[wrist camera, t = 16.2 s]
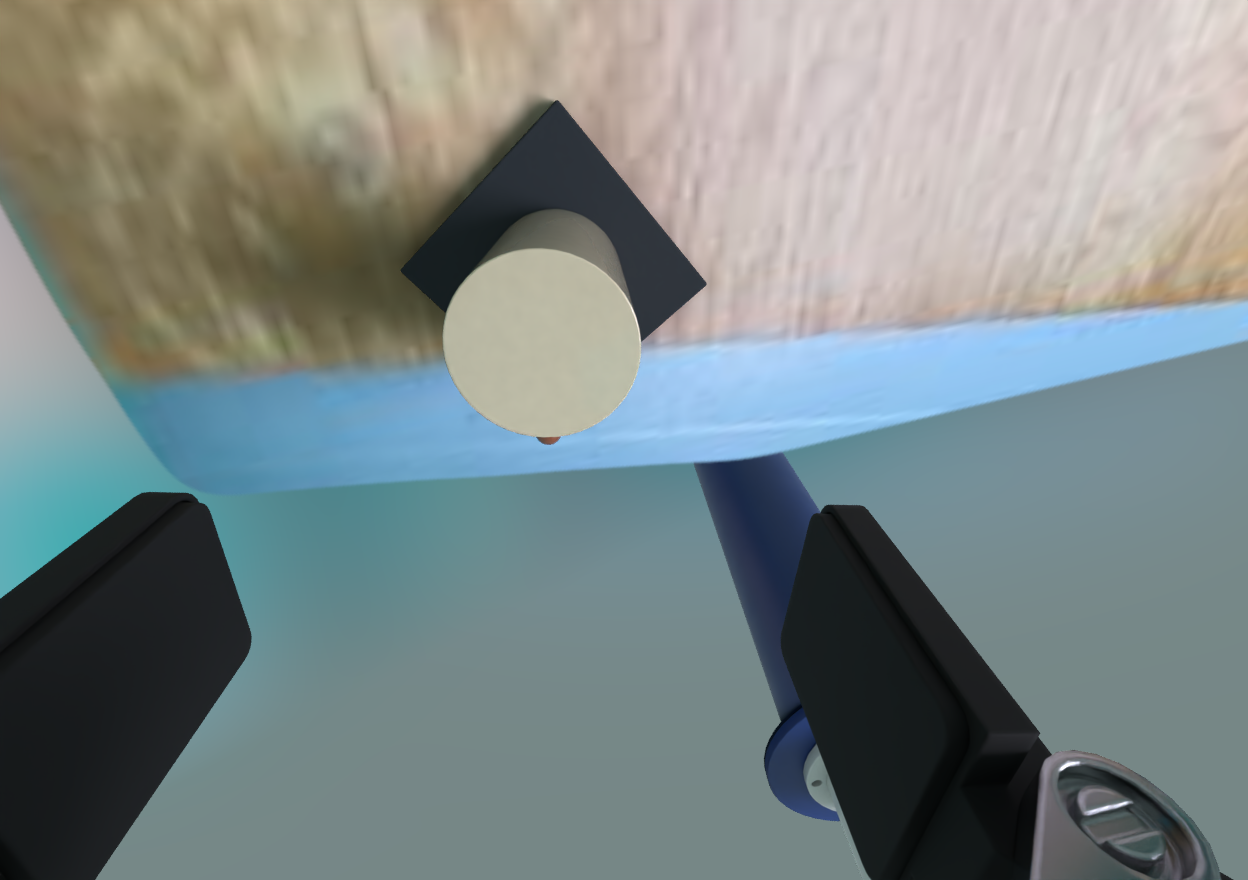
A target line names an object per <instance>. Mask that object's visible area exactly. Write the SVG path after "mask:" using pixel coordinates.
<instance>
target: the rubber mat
mask: <svg viewBox="0 0 1248 880" xmlns="http://www.w3.org/2000/svg"><path fill="white" fill-rule="evenodd" d="M546 209H561V210H567V211H571V212H575V213H577V214H580V215H582V216H584V217H586V218H587V219H589V220H591V221H592V222H593V223H595V224H596V225H597V226H599V227H600V228H601V230H602V231H603V232H604V233H605V234H606V235H607V236H608V238H609V239H610V240H611V242H612V244H613V246H614V247H615V250H616V252H617V255H618V257H619V261H620V264H621V267H622V271H623V274H624V278H625V281H626V284H627V288H628V291H629V294H630V298H631V301H632V305H633V308H634V311H635V315H636V318H637V322H638V326H639V329H640V337H641V342H642V341H643V340H644V339H645V338H646V337H647V336H649V335H650V334H651V333H652V332H653V331H654V330H655V329H657V328H658V327H659V326H660V325H661V324H662V323H663V322H665V321H666V320H667V319H668V318H669V317H670V316H671V315H673V314H674V313H675V312H676V311H677V310H678V309H680V308H681V307H682V306H683V305H684V304H685V303H686V302H688V301H689V300H690V299H691V298H692V297H693V296H694V295H696V294H697V293H698V292H699V291H700V290H701V289H702V288H704V287H705V286H706V282H705V281H704V279H703V278H702V277H701V276H700V274H699V273H698V272H697V271H696V269H695V268H694V267H693V266H692V265H691V263H690V262H689V261H688V260H687V258H686V257H685V256H684V255H683V253H682V252H681V251H680V250H679V249H678V247H677V246H676V245H675V244H674V242H673V241H672V240H671V239H670V237H669V236H668V235H667V234H666V233H665V231H664V230H663V229H662V228H661V226H660V225H659V224H658V223H657V221H656V220H655V219H654V218H653V217H652V215H651V214H650V213H649V212H648V210H647V209H646V208H645V207H644V205H643V204H642V203H641V202H640V200H639V199H638V198H637V197H636V196H635V194H634V193H633V192H632V191H631V189H630V188H629V187H628V186H627V184H626V183H625V182H624V181H623V180H622V178H621V177H620V176H619V175H618V173H617V172H616V171H615V170H614V168H613V167H612V166H611V165H610V164H609V162H608V161H607V160H606V159H605V157H604V156H603V155H602V154H601V152H600V151H599V150H598V149H597V148H596V146H595V145H594V144H593V143H592V141H591V140H590V139H589V138H588V136H587V135H586V134H585V133H584V132H583V130H582V129H581V128H580V127H579V125H578V124H577V123H576V122H575V120H574V119H573V118H572V117H571V116H570V114H569V113H568V112H567V111H566V109H565V108H564V107H563V106H562V104H561V103H560V102H559V101H558V100H557V101H555V102H554V103H553V104H552V105H551V106H550V107H549V109H548V110H547V111H546V112H545V113H544V114H543V115H542V116H541V117H540V118H539V119H538V121H537V122H536V123H535V124H534V125H533V126H532V127H531V128H530V129H529V130H528V131H527V133H526V134H525V135H524V136H523V137H522V138H521V139H520V140H519V141H518V142H517V143H516V145H515V146H514V147H513V148H512V149H511V150H510V151H509V152H508V153H507V154H506V155H505V157H504V158H503V159H502V160H501V161H500V162H499V163H498V164H497V165H496V166H495V167H494V168H493V170H492V171H491V172H490V173H489V174H488V175H487V176H486V177H485V178H484V179H483V180H482V182H481V183H480V184H479V185H478V186H477V187H476V188H475V189H474V190H473V191H472V192H471V194H470V195H469V196H468V197H467V198H466V199H465V200H464V201H463V202H462V203H461V204H460V206H459V207H458V208H457V209H456V210H455V211H454V212H453V213H452V214H451V215H450V216H449V218H448V219H447V220H446V221H445V222H444V223H443V224H442V225H441V226H440V227H439V228H438V229H437V231H436V232H435V233H434V234H433V235H432V236H431V237H430V238H429V239H428V240H427V241H426V243H425V244H424V245H423V246H422V247H421V248H420V249H419V250H418V251H417V252H416V253H415V255H414V256H413V257H412V258H411V259H410V260H409V261H408V262H407V263H406V264H405V265H404V267H403V268H402V269H401V272H402V273H403V274H404V275H405V276H406V277H407V278H408V279H409V280H410V281H412V282H413V283H414V284H415V285H416V286H417V287H418V288H419V289H420V290H421V291H422V292H423V293H425V294H426V295H427V296H428V297H429V298H430V299H431V300H432V301H433V302H434V303H435V304H437V305H438V306H439V307H440V308H441V309H442V310H443V311H444V312H445V313H446V311H447V308H448V306H449V304H450V301H451V299H452V297H453V295H454V294H455V292H456V290H457V289H458V287H459V286H460V285H461V283H462V282H463V281H464V280H465V279H466V278H467V276H468V275H469V274H470V273H471V272H472V270H473V269H474V268H475V267H476V266H477V264H478V263H479V262H480V261H481V260H482V259H483V257H484V256H485V255H486V254H487V253H488V251H489V250H490V249H491V248H492V247H493V245H494V244H495V243H496V242H497V241H498V240H499V238H500V237H501V236H502V235H503V234H504V232H505V231H506V230H507V229H508V228H509V227H510V226H511V225H512V224H513V223H514V222H516V221H517V220H519V219H520V218H522V217H523V216H526V215H528V214H530V213H533V212H536V211H539V210H546Z"/></svg>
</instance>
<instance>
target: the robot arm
mask: <svg viewBox="0 0 1248 880" xmlns="http://www.w3.org/2000/svg"><path fill="white" fill-rule="evenodd" d="M250 646H251V631H250V628H249V625H248V622H247V619H246V616H245V614H244V611H243V608H242V605H241V602H240V599H239V596H238V593H237V590H236V587H235V584H234V581H233V578H232V575H231V572H230V569H229V566H228V563H227V560H226V557H225V554H224V551H223V548H222V545H221V542H220V540H219V537H218V534H217V531H216V528H215V525H214V522H213V519H212V516H211V513H210V511H209V509H208V507H207V506H206V505H205V504H202V503H199V502H198V500H197V499H196V498H195V497H194V496H193V495H192V494H189V493H166V492H146V493H141V494H139V495H137V496H136V497H134V498H133V499H131V500H130V501H129V502H127V503H126V504H125V505H123V506H122V507H121V508H119V509H118V510H117V511H115V512H114V513H113V514H112V515H110V516H109V517H108V518H106V519H105V520H104V521H103V522H101V523H100V524H98V525H97V526H96V527H94V528H93V529H92V530H90V531H89V532H88V533H86V534H85V535H84V536H82V537H81V538H80V539H79V540H77V541H76V542H75V543H73V544H72V545H71V546H69V547H68V548H67V549H65V550H64V551H63V552H61V553H60V554H59V555H57V556H56V557H55V558H53V559H52V560H51V561H49V562H48V563H47V564H45V565H44V566H43V567H42V568H40V569H39V570H38V571H36V572H35V573H34V574H32V575H31V576H30V577H28V578H27V579H26V580H24V581H23V582H22V583H20V584H19V585H18V586H16V587H15V588H14V589H12V590H11V591H10V592H9V593H7V594H6V595H5V596H3V597H2V598H1V599H0V880H95V879H96V877H97V876H98V874H99V873H100V872H101V870H102V869H103V867H104V866H105V864H106V863H107V861H108V859H109V858H110V857H111V855H112V854H113V852H114V851H115V849H116V848H117V847H118V845H119V844H120V842H121V841H122V839H123V838H124V836H125V835H126V833H127V832H128V830H129V829H130V827H131V826H132V825H133V823H134V821H135V820H136V818H137V817H138V816H139V814H140V812H141V811H142V810H143V808H144V807H145V805H146V804H147V802H148V801H149V800H150V798H151V797H152V795H153V794H154V792H155V791H156V789H157V788H158V786H159V785H160V783H161V782H162V780H163V779H164V778H165V776H166V775H167V773H168V771H169V770H170V769H171V767H172V766H173V764H174V763H175V761H176V760H177V758H178V757H179V755H180V754H181V752H182V751H183V750H184V748H185V747H186V745H187V744H188V742H189V741H190V739H191V738H192V736H193V735H194V733H195V732H196V731H197V729H198V728H199V726H200V725H201V723H202V722H203V720H204V719H205V717H206V716H207V714H208V713H209V711H210V710H211V708H212V707H213V705H214V704H215V703H216V701H217V700H218V698H219V697H220V695H221V694H222V692H223V691H224V689H225V688H226V686H227V685H228V683H229V682H230V681H231V679H232V678H233V676H234V675H235V673H236V672H237V670H238V669H239V667H240V666H241V664H242V663H243V661H244V660H245V658H246V657H247V655H248V653H249V649H250ZM781 649H782V654H783V657H784V660H785V663H786V665H787V668H788V671H789V673H790V676H791V678H792V681H793V684H794V686H795V689H796V692H797V694H798V697H799V699H800V702H801V705H802V707H803V710H804V713H805V715H806V718H807V720H808V723H809V726H810V728H811V731H812V734H813V736H814V739H815V741H816V745H815V746H814V747H813V749H812V750H811V751H810V753H809V754H808V756H807V759H806V761H805V763H804V769H803V774H804V780H805V783H806V785H807V788H808V791H809V793H810V795H811V796H812V797H813V799H814V800H815V801H816V802H818V803H819V804H820V805H822V806H824V807H826V808H828V809H830V810H833V811H836V812H837V814H838V816H839V819H840V822H841V824H842V827H843V830H844V832H845V835H846V837H847V840H848V843H849V846H850V848H851V851H852V854H853V856H854V859H855V862H856V864H857V867H858V869H859V872H860V875H861V878H862V880H1233V879H1231V878H1229V877H1228V876H1226V875H1224V874H1223V873H1221V872H1219V867H1218V864H1217V862H1216V859H1215V857H1214V854H1213V851H1212V849H1211V846H1210V844H1209V843H1208V841H1207V840H1206V838H1205V837H1204V835H1203V834H1202V833H1201V831H1200V830H1199V828H1198V827H1197V825H1196V824H1195V822H1194V821H1193V820H1192V819H1191V818H1190V817H1189V816H1188V815H1187V814H1186V813H1185V812H1184V811H1183V810H1182V809H1181V808H1180V807H1179V806H1178V805H1177V804H1176V803H1175V801H1174V800H1173V799H1172V798H1170V797H1169V796H1168V795H1166V794H1165V793H1164V792H1163V791H1161V790H1160V789H1159V788H1157V787H1156V786H1155V785H1154V784H1152V783H1151V782H1150V781H1148V780H1147V779H1146V778H1144V777H1142V776H1141V775H1139V774H1137V773H1135V772H1134V771H1132V770H1130V769H1128V768H1127V767H1125V766H1123V765H1121V764H1119V763H1117V762H1115V761H1112V760H1110V759H1107V758H1105V757H1102V756H1100V755H1097V754H1092V753H1087V752H1082V751H1076V750H1071V751H1061V752H1056V753H1055V754H1053V755H1052V754H1051V753H1050V752H1049V751H1048V749H1047V748H1046V746H1045V745H1044V744H1043V743H1042V741H1041V740H1040V739H1039V737H1038V736H1039V734H1040V732H1039V731H1038V730H1037V728H1036V727H1035V726H1034V725H1033V724H1032V722H1031V721H1030V719H1029V718H1028V717H1027V715H1026V714H1025V713H1024V712H1023V710H1022V709H1021V708H1020V706H1019V705H1018V704H1017V703H1016V701H1015V700H1014V699H1013V698H1012V696H1011V695H1010V693H1009V692H1008V691H1007V690H1006V688H1005V687H1004V686H1003V684H1002V683H1001V682H1000V681H999V679H998V678H997V677H996V675H995V674H994V673H993V671H992V670H991V669H990V668H989V666H988V665H987V664H986V663H985V661H984V660H983V659H982V657H981V656H980V655H979V654H978V652H977V651H976V650H975V648H974V647H973V646H972V644H971V643H970V642H969V640H968V639H967V638H966V636H965V635H964V634H963V633H962V632H961V630H960V629H959V627H958V626H957V625H956V624H955V622H954V621H953V620H952V618H951V617H950V616H949V615H948V614H947V612H946V611H945V609H944V608H943V607H942V605H941V604H940V603H939V602H938V601H937V599H936V598H935V596H934V595H933V594H932V592H931V591H930V590H929V589H928V587H927V586H926V585H925V583H924V582H923V581H922V580H921V578H920V577H919V576H918V574H917V573H916V572H915V571H914V569H913V568H912V567H911V565H910V564H909V563H908V562H907V560H906V559H905V558H904V556H903V555H902V554H901V552H900V551H899V550H898V549H897V547H896V546H895V545H894V543H893V542H892V541H891V539H890V538H889V537H888V536H887V534H886V533H885V532H884V530H883V529H882V528H881V527H880V525H879V524H878V523H877V521H876V520H875V519H874V517H873V516H872V515H871V514H870V513H869V511H868V510H867V509H866V508H865V507H864V506H860V505H826V506H825V507H824V508H823V509H822V511H821V513H820V514H819V513H816V514H813V516H812V517H811V519H810V522H809V526H808V530H807V534H806V538H805V542H804V546H803V550H802V554H801V558H800V562H799V566H798V570H797V574H796V578H795V582H794V585H793V589H792V593H791V597H790V601H789V605H788V609H787V613H786V617H785V621H784V625H783V629H782V633H781Z"/></svg>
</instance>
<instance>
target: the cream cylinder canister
mask: <svg viewBox="0 0 1248 880" xmlns="http://www.w3.org/2000/svg"><path fill="white" fill-rule="evenodd" d="M442 339H443V352H444V358H445V362H446V365H447V368H448V371H449V374H450V376H451V378H452V380H453V382H454V384H455V386H456V387H457V389H458V390H459V392H460V394H461V395H462V396H463V397H464V398H465V400H466V401H467V402H468V403H469V404H470V405H471V406H472V407H473V408H474V409H475V410H476V411H477V412H478V413H479V414H481V415H482V416H483V417H485V418H486V419H487V420H489V421H491V422H493V423H494V424H496V425H498V426H500V427H502V428H504V429H507V430H509V431H512V432H515V433H518V434H522V435H527V436H533V437H536V438H537V439H538V440H539V441H540V442H541V443H543V444H546V445H551V444H554V443H556V442H557V441H558V440H559V439H560V437H561V436H566V435H570V434H574V433H577V432H580V431H583V430H585V429H588V428H590V427H592V426H594V425H595V424H597V423H599V422H601V421H602V420H603V419H605V418H606V417H607V416H609V415H610V414H611V413H612V412H613V411H614V410H615V409H616V408H617V407H618V406H619V405H620V404H621V402H622V401H623V400H624V399H625V397H626V396H627V394H628V392H629V391H630V389H631V387H632V385H633V383H634V381H635V378H636V375H637V372H638V368H639V364H640V357H641V337H640V329H639V326H638V322H637V318H636V315H635V311H634V308H633V305H632V301H631V298H630V294H629V291H628V288H627V284H626V281H625V278H624V274H623V271H622V267H621V264H620V261H619V257H618V255H617V252H616V250H615V247H614V246H613V244H612V242H611V240H610V239H609V238H608V236H607V235H606V234H605V233H604V232H603V231H602V230H601V228H600V227H599V226H597V225H596V224H595V223H593V222H592V221H591V220H589V219H587V218H586V217H584V216H582V215H580V214H577V213H575V212H571V211H567V210H561V209H546V210H539V211H536V212H533V213H530V214H528V215H526V216H523V217H522V218H520V219H519V220H517V221H516V222H514V223H513V224H512V225H511V226H510V227H509V228H508V229H507V230H506V231H505V232H504V234H503V235H502V236H501V237H500V238H499V240H498V241H497V242H496V243H495V244H494V245H493V247H492V248H491V249H490V250H489V251H488V253H487V254H486V255H485V256H484V257H483V259H482V260H481V261H480V262H479V263H478V264H477V266H476V267H475V268H474V269H473V270H472V272H471V273H470V274H469V275H468V276H467V278H466V279H465V280H464V281H463V282H462V283H461V285H460V286H459V287H458V289H457V290H456V292H455V294H454V295H453V297H452V299H451V301H450V304H449V306H448V308H447V311H446V315H445V319H444V324H443V333H442Z"/></svg>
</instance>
